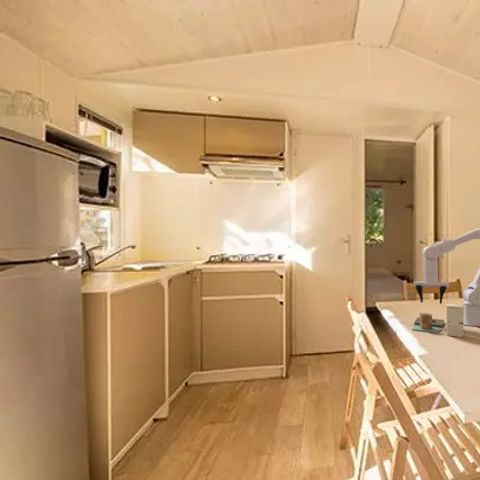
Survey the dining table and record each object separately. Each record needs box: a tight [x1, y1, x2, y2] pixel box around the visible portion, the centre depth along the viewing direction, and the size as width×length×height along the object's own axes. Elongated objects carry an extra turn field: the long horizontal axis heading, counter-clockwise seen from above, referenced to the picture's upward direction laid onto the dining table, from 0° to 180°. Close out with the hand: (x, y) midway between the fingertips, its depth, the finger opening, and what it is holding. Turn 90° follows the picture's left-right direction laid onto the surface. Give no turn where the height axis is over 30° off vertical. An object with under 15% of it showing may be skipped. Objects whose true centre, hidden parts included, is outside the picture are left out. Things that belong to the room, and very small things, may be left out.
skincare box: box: [445, 303, 464, 338], centre depth 154 cm, size 6×4×12 cm
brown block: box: [419, 312, 433, 330], centre depth 163 cm, size 4×4×6 cm
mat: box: [411, 324, 441, 334], centre depth 163 cm, size 10×7×1 cm
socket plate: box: [413, 317, 445, 329], centre depth 173 cm, size 11×11×1 cm
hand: (431, 302), depth 174 cm, fingers open, 7 cm apart
